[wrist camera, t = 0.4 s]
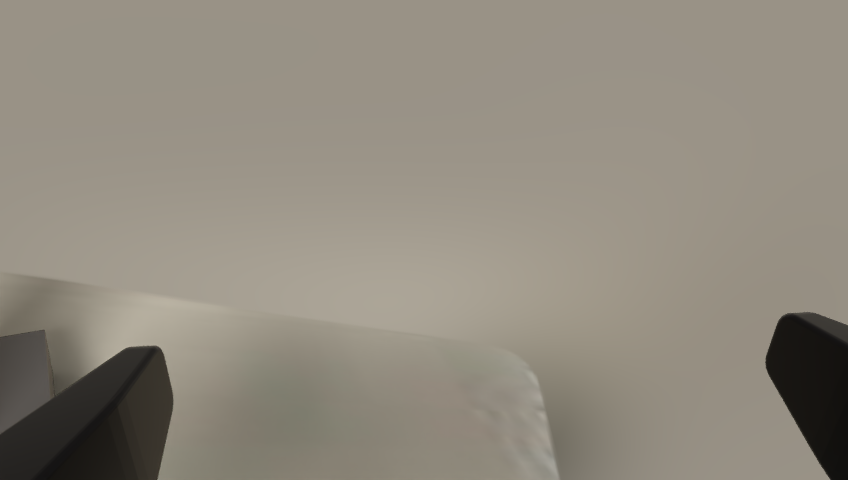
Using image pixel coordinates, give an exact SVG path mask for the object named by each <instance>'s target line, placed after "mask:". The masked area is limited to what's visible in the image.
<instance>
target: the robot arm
mask: <svg viewBox="0 0 848 480" xmlns="http://www.w3.org/2000/svg"><path fill="white" fill-rule="evenodd" d="M765 363H766V369H767V372H768V374H769V376H770V378H771V380H772V381H773V383H774V385H775V387H776V389H777V390H778V392H779V394H780V396H781V397H782V399H783V401H784V402H785V404H786V406H787V408H788V410H789V411H790V413H791V415H792V417H793V418H794V420H795V422H796V424H797V425H798V427H799V429H800V431H801V432H802V434H803V436H804V438H805V439H806V441H807V443H808V445H809V446H810V448H811V450H812V451H813V453H814V455H815V456H816V458H817V460H818V462H819V463H820V465H821V466H822V468H823V469H824V471H825V472H826V474H827V475H828V477H829V478H830V480H848V325H846V324H843V323H840V322H838V321H835V320H832V319H829V318H827V317H824V316H821V315H819V314H816V313H810V312H804V313H788V314H785V315H783V316H782V317H781V318H780V319H779V321H778V323H777V326H776V329H775V332H774V335H773V337H772V340H771V343H770V346H769V349H768V352H767V355H766V362H765ZM172 410H173V392H172V387H171V383H170V379H169V374H168V370H167V366H166V361H165V357H164V354H163V352H162V350H161V348H159V347H157V346H139V347H128V348H126V349H124V350H122V351H121V352H119V353H118V354H116V355H115V356H114V357H112V358H111V359H109V360H108V361H106V362H105V363H103V364H102V365H100V366H99V367H97V368H96V369H94V370H93V371H91V372H90V373H89V374H87V375H86V376H84V377H83V378H81V379H80V380H78V381H77V382H75V383H74V384H72V385H71V386H69V387H68V388H66V389H65V390H64V391H62V392H61V393H59V394H58V395H56V396H55V397H53V398H52V399H50V400H49V401H47V402H46V403H44V404H43V405H41V406H40V407H39V408H37V409H36V410H34V411H33V412H31V413H30V414H28V415H27V416H25V417H24V418H22V419H21V420H19V421H18V422H16V423H15V424H14V425H12V426H11V427H9V428H8V429H6V430H5V431H3V432H2V433H0V480H157V479H158V474H159V470H160V465H161V461H162V456H163V451H164V447H165V442H166V438H167V433H168V429H169V424H170V420H171V415H172Z"/></svg>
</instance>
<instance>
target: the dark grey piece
mask: <svg viewBox="0 0 848 480" xmlns="http://www.w3.org/2000/svg"><path fill="white" fill-rule="evenodd" d="M53 397H55V394H54V383H53V372H52V367H51V362H50V356H49V351H48V346H47V341H46V335H45V330H40V331H34V332H28V333H22V334H16V335H10V336H4V337H0V433H2V432H3V431H5V430H6V429H8V428H9V427H11V426H12V425H14V424H15V423H16V422H18V421H19V420H21V419H22V418H24V417H25V416H27V415H28V414H30V413H31V412H33V411H34V410H36V409H37V408H39V407H40V406H41V405H43V404H44V403H46V402H47V401H49V400H50V399H52V398H53Z"/></svg>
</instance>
